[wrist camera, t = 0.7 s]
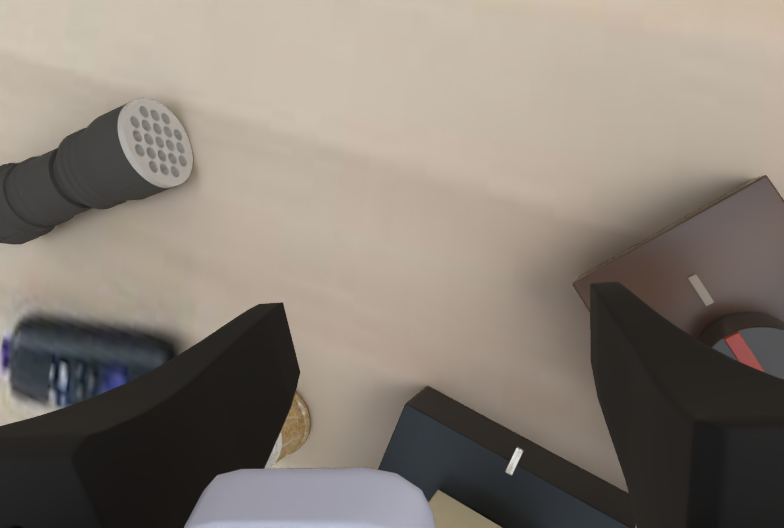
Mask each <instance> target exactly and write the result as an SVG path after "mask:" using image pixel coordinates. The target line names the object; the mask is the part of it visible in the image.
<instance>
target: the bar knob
mask: <svg viewBox="0 0 784 528" xmlns="http://www.w3.org/2000/svg"><path fill="white" fill-rule="evenodd" d="M428 503H429V505H430V507H431V509H432V511H433V515H434V521H435V528H502V527H501V526H499V525H497V524H495V523H494V522H492V521H490V520H489V519H487V518H485V517H484V516H482V515H480V514H479V513H477V512H475V511H474V510H472V509H470V508H468V507H467V506H465V505H463V504H462V503H460V502H458V501H457V500H455V499H453V498H452V497H450V496H448V495H447V494H445V493H443V492H441V491H440V490H437V492H436V493H435V494H434V496H433V497H432V498H431V500H430V501H429V502H428Z"/></svg>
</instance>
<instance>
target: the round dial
mask: <svg viewBox="0 0 784 528" xmlns="http://www.w3.org/2000/svg"><path fill="white" fill-rule="evenodd" d="M697 340H699V341H700V342H702V343H704V344H706V345H707V346H709V347H711V348H713V349H715V350H717V351H719V352H721V353H723V354H725V355H727V356H729V357H731V358H733V359H735V360H737V361H739V362H741V363H743V364H746V365H748V366H750V367H753V368H755V369H758V370H760V371H763V372H765V373H768V374H770V375H773V376H775V377H778V378H781V379H784V322H783V321H781V320H779V319H777V318H775V317H773V316H769V315H766V314H762V313H756V312H740V313H734V314H730V315H727V316H724V317H722V318H720V319H718V320H716V321H714V322H713V323H711V324H710V325H709V326H707V327H706V328H705V329H704V330H703V332H702V333H701V334H700V335H699V337H698V339H697Z"/></svg>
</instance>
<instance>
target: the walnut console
mask: <svg viewBox="0 0 784 528" xmlns="http://www.w3.org/2000/svg"><path fill="white" fill-rule="evenodd" d="M604 282H620V283H621V284H623V285H624V286H625V287H626V288H627V289H629V290H630V291H631V292H632V293H633V294H635V295H636V296H637V297H638V298H640V299H641V300H642V301H643V302H644V303H646V304H647V305H648V306H650V307H651V308H652V309H653V310H655V311H656V312H657V313H659V314H660V315H661V316H663V317H664V318H665V319H667V320H668V321H670V322H671V323H673V324H674V325H675V326H677V327H678V328H680V329H681V330H683V331H685V332H686V333H688V334H689V335H691V336H692V337H694V338H696V339H698V337H699V335H700V334H701V333H702V332H703V330H704V329H705V328H706V327H707V326H709V325H710V324H711V323H713V322H714V321H716V320H718V319H720V318H722V317H724V316H727V315H730V314H734V313H740V312H756V313H762V314H766V315H769V316H773V317H775V318H777V319H779V320H781V321H783V322H784V200H783V198H782V197H781V196H780V194H779V193H778V191H777V190H776V188H775V187H774V185H773V184H772V182H771V181H770V180H769V178H768V177H767V176H766V175H764V176H761V177H757V178H754V179H752V180H750V181H748V182H746V183H745V184H743V185H741V186H739V187H737V188H736V189H734V190H732V191H730V192H729V193H727V194H725V195H723V196H722V197H720V198H718V199H716V200H714V201H713V202H711V203H709V204H707V205H706V206H704V207H702V208H700V209H699V210H697V211H695V212H693V213H691V214H690V215H688V216H686V217H684V218H683V219H681V220H679V221H677V222H675V223H674V224H672V225H670V226H668V227H667V228H665V229H663V230H661V231H660V232H658V233H656V234H654V235H652V236H651V237H649V238H647V239H645V240H644V241H642V242H640V243H638V244H636V245H635V246H633V247H631V248H629V249H628V250H626V251H624V252H622V253H621V254H619V255H617V256H615V257H613V258H612V259H610V260H608V261H606V262H605V263H603V264H601V265H599V266H598V267H596V268H594V269H592V270H590V271H589V272H587V273H585V274H583V275H582V276H580V277H579V278H578V279H577V280H576V281H575V282H574V283H573V286H574V288H575V289H576V291H577V293H578V294H579V296H580V297H581V299H582V301H583V302H584V304H585V305H586V307H587V309H588V310H589V312H590V283H604Z"/></svg>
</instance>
